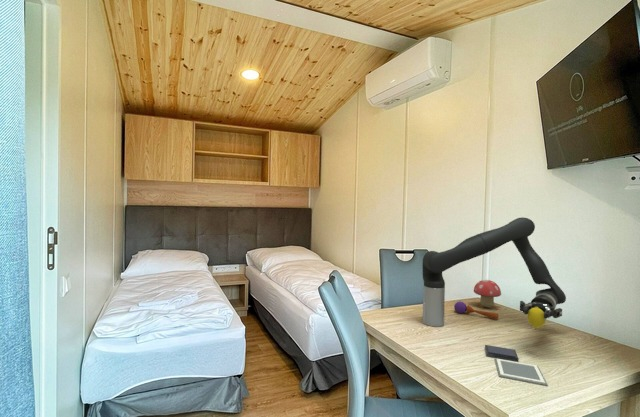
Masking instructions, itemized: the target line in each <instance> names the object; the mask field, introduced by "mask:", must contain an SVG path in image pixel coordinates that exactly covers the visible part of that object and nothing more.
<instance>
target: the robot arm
mask: <svg viewBox="0 0 640 417" xmlns="http://www.w3.org/2000/svg"><path fill="white" fill-rule="evenodd" d="M535 228H536V226H535V223H534V221H532V219H530V218H528V217H523V216H522V217H517V218H515V219H514V220H511V221H509V222H508V223H507V224H504V225H502V226H500V227H497V228H493V229H490V230H487V231H483V232H480V233H477V234H475V235H473V236H469V237H467V238H465V239H464V240H463V241H461V242H460V243H459V244H457V245H456V246H454V247H453V248H450V249H447V250H444V251H440V252H438V251H435V250H429V251H427V252H426V253H425V254H424V255H423V257H422V267H421V268H422V279H423V280H422V281H423V302H422V324H424V325H426V326H430V327H431V326H432V327H443V326H445V302H446V301H445V296H446V294H445V293H446V292H445V291H446V289H445V288H446V282H445V279H444V276H443V272H445V271H447V270H449V269H451V268H452V267H454V266H457V265H458V264H461V263H464V262H467V261H469V260H471V259H475V258H478V257H480V256H482V255H485V254H488V253H490V252H492V251H494V250H496V249H498V248H500V247H501V246H504V245H505V244H508V243H509V242H512V243H513V245H514V246H515V248H516V250H517V251H518V252H519V254H520V256H521V257H522V259H523V261H524V263H525V265H526V267H527V270H528V272H529V273H530V276H531V278H532V281H533V282H534V284H536V285H547V286H548V288H543V289H540V290H537V291H536V292H535V296H534V298H532V299H531V300H530V302H528V303H526V302H525V301H523V300H519V311H520V312H522V313H523V314H524V315H526V316H527V315H528V312H529V310H530V309H531V308H535V307H538V308H539V309H541V310H542V311H543V312H544V319H545V320H546V319H550V318H554V319H558V318H560V317H562V316H563V308H560V307H559V308H556V307H557V306H558V305H560V304H561V305H562V304H564V303H565V302H566V300H567V295H566V294H565V292H564V291H563V290H562V288H561V287H560V286H559V285H558V283H557V282H555V280H554V279H553V277H552V275H551V273H550V271H549V269H548V267H547V265H546V263H545V261H544V260H543V259H542V257H541V256H540V255H539V254H538V252H536V250H535V249H534V248H533V246H532V245H531V242H530V241H529V238H528V237H530V236H531V235H532V234H533V233H534V231H535Z"/></svg>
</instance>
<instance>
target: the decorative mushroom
mask: <svg viewBox="0 0 640 417" xmlns="http://www.w3.org/2000/svg"><path fill="white" fill-rule="evenodd" d="M473 293H475V295H478V296H480V297H479V298H480V301H479V303H480V305H481V306H482V307H485V309H486V308H491V307H493V306H494V305H495V299H494V298H497V297H500V296H502V290H501V288H500V286H499V285H498V284H497V283H496V282H495V281H494V280H493V281H492V280H491V279H482V280H479V281H478V282H477V283H475V285H474V287H473Z"/></svg>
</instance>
